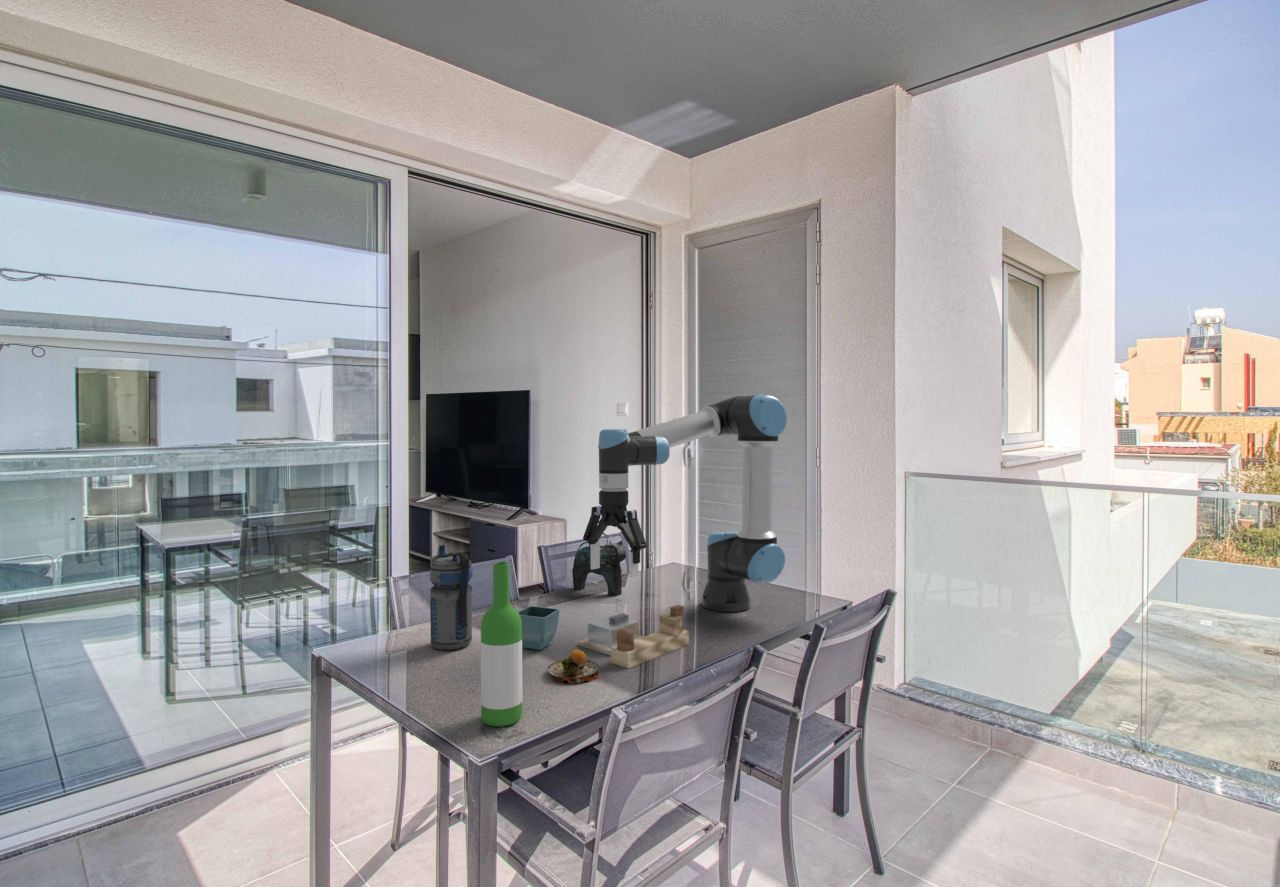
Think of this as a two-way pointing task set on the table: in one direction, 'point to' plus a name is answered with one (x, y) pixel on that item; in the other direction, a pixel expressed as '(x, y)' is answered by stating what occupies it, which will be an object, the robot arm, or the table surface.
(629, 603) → the table surface
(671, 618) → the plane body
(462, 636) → the beverage bottle
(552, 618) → the flower pot
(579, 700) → the table surface
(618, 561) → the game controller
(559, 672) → the salad plate
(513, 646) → the wine bottle
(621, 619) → the white block with stub
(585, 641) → the ash board
